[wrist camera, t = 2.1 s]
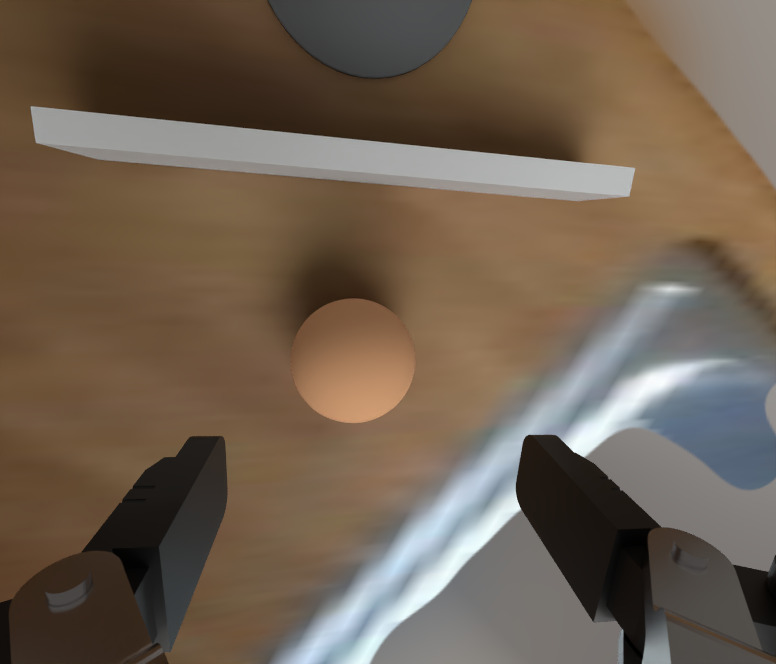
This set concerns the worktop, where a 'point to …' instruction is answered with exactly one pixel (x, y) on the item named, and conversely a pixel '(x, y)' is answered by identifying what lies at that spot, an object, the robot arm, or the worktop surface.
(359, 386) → the ball
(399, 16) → the pad
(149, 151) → the low wall
